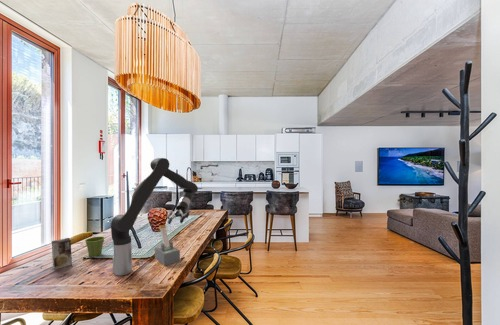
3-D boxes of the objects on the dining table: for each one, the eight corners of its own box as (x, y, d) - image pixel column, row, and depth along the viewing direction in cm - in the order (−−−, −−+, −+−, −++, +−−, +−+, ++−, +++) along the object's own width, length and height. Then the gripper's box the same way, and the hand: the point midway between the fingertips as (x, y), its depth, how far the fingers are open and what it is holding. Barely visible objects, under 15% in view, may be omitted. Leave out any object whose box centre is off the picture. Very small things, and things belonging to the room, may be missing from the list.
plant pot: (96, 259, 167) (95, 242, 166) (80, 258, 169) (80, 241, 169) (109, 252, 178) (108, 236, 178) (95, 251, 180) (94, 235, 180)
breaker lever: (164, 249, 162) (158, 226, 168) (169, 247, 164) (164, 225, 170) (165, 247, 160) (159, 225, 166) (170, 246, 162) (165, 224, 168)
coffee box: (70, 262, 162) (69, 237, 162) (72, 265, 158) (71, 239, 158) (52, 266, 156) (51, 240, 156) (53, 269, 151) (52, 243, 151)
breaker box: (155, 258, 166) (154, 241, 165) (170, 254, 172) (169, 238, 172) (164, 266, 153) (163, 248, 153) (179, 261, 160) (179, 244, 160)
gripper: (171, 202, 173) (162, 219, 160) (190, 199, 170) (182, 217, 157) (176, 209, 177) (167, 227, 164) (194, 207, 174) (187, 225, 161)
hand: (174, 222), depth 160 cm, fingers open, 8 cm apart
